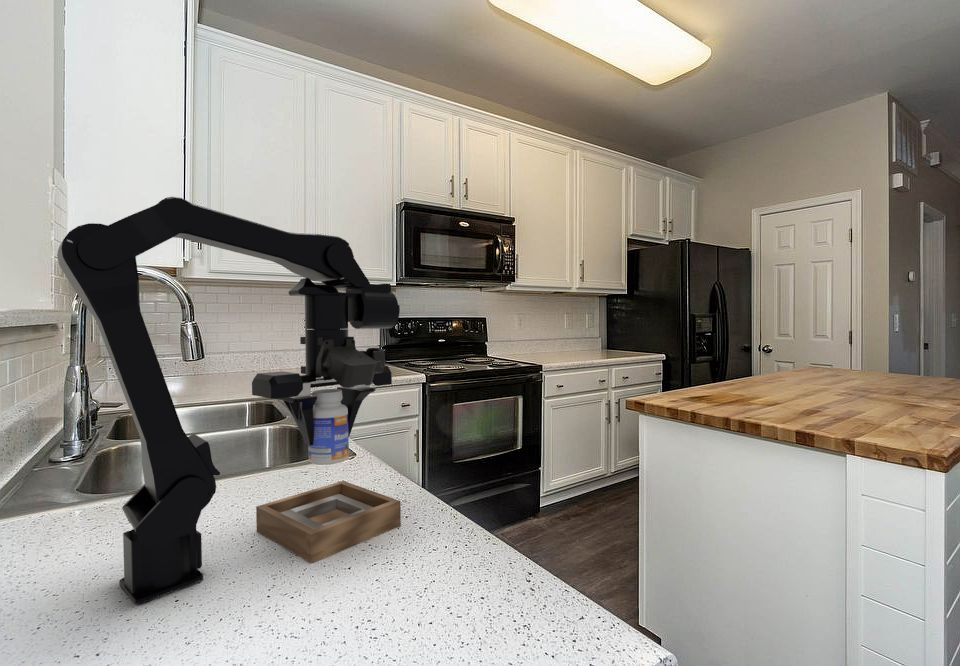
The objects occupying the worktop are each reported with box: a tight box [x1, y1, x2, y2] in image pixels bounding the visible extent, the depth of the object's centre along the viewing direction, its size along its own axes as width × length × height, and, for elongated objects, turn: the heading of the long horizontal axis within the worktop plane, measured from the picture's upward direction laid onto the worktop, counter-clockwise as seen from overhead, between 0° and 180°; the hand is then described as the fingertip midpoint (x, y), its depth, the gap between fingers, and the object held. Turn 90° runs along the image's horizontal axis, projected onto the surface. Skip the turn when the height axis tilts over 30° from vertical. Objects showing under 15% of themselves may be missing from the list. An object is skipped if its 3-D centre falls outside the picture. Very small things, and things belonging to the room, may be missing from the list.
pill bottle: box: [307, 388, 350, 466], centre depth 68 cm, size 5×5×10 cm
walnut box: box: [255, 480, 402, 564], centre depth 68 cm, size 14×14×4 cm
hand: (328, 441), depth 68 cm, fingers closed on pill bottle, 5 cm apart
